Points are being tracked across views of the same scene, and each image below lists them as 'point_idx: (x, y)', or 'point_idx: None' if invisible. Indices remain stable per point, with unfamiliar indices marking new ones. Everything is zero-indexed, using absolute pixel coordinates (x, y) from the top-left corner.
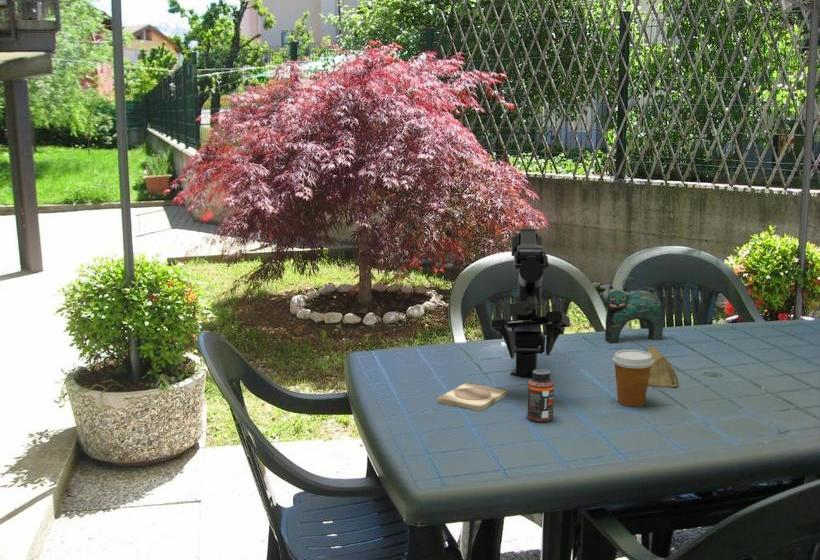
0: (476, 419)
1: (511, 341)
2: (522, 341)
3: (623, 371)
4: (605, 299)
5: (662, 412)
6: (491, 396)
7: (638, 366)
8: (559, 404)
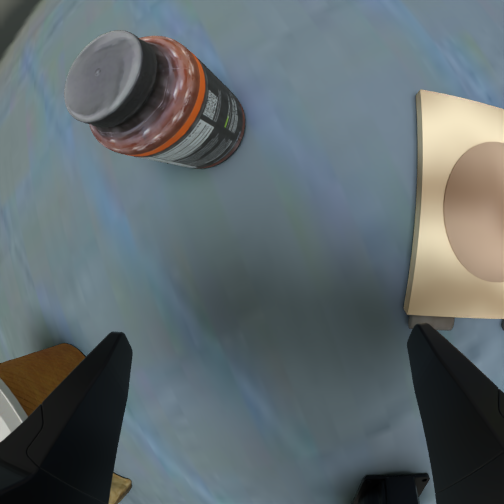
0: (384, 27)
1: (465, 445)
2: None
3: (8, 372)
4: None
5: (22, 324)
6: (439, 217)
7: None
8: (200, 293)
